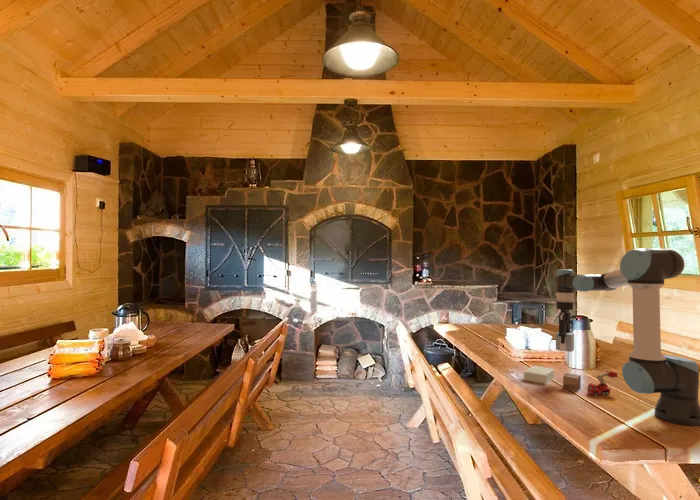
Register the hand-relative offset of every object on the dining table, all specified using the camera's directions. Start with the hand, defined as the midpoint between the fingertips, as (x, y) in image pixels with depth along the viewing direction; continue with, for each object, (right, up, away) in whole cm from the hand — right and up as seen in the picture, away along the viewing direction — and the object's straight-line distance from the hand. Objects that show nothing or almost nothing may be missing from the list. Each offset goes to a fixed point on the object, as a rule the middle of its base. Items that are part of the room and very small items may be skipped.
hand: (564, 348), depth 217 cm
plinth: (-11, -15, +3) cm, 19 cm away
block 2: (-2, -16, -12) cm, 20 cm away
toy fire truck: (+8, -16, -19) cm, 26 cm away
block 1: (0, 0, 0) cm, 0 cm away
